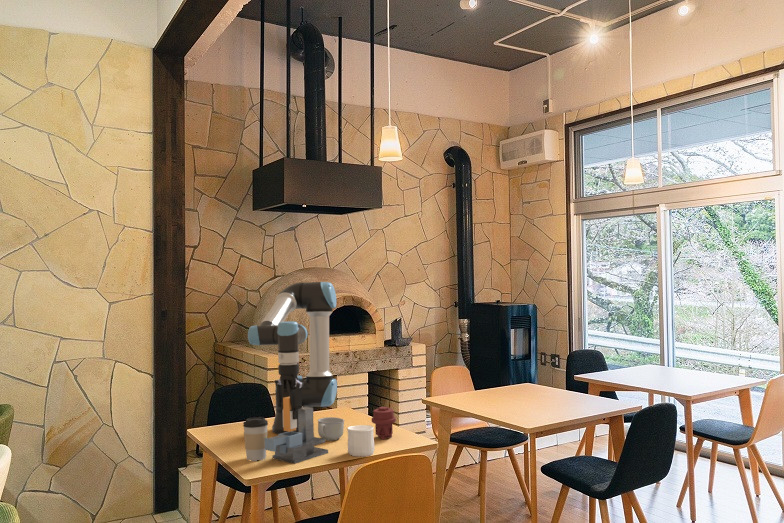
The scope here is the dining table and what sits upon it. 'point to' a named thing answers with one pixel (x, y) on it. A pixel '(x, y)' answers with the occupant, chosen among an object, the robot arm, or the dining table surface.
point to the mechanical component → (383, 422)
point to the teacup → (330, 428)
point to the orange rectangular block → (287, 414)
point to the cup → (360, 440)
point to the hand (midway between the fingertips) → (289, 427)
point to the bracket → (283, 441)
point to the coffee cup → (255, 438)
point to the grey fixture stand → (303, 440)
